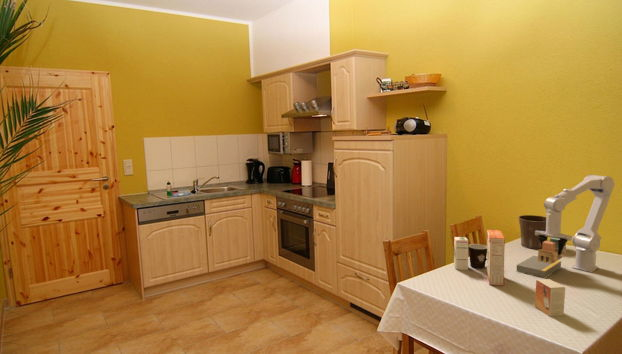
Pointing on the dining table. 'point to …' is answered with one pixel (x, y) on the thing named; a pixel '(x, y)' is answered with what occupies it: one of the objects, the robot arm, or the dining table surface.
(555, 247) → the green cube
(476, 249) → the coffee mug
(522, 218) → the plant pot
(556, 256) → the tan piece
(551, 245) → the brick block
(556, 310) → the small box
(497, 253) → the cracker box
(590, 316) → the dining table surface
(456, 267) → the syrup box
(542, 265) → the dock
